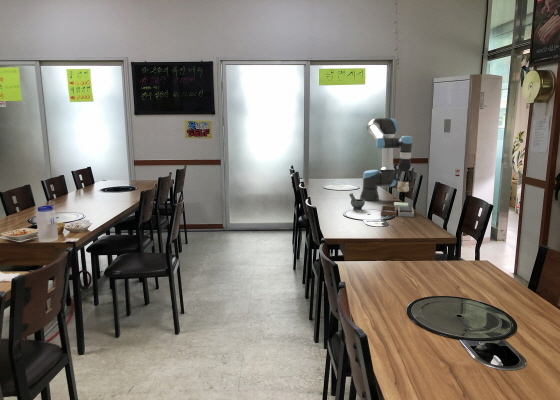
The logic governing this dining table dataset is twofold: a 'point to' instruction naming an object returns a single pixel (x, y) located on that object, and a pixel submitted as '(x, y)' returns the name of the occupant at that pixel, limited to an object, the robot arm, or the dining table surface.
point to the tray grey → (405, 210)
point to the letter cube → (402, 186)
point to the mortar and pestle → (356, 202)
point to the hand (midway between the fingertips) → (402, 190)
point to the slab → (400, 205)
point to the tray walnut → (388, 209)
